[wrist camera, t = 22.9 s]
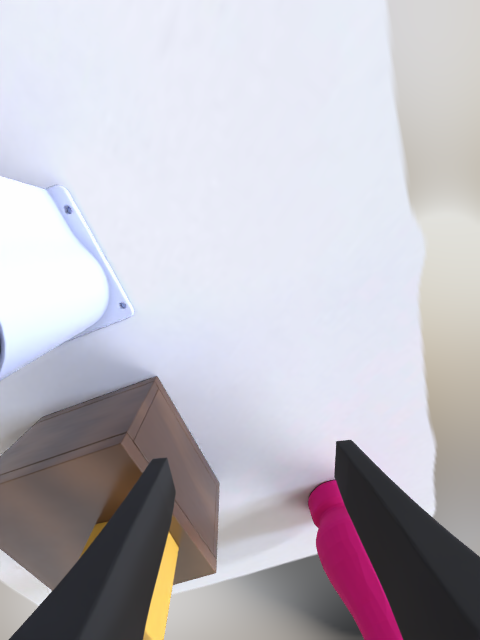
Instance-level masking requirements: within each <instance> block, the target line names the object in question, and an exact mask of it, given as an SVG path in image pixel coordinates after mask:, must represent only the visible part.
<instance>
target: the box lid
mask: <svg viewBox="0 0 480 640" xmlns="http://www.w3.org/2000/svg"><path fill="white" fill-rule="evenodd" d="M147 466H148V462H147V461H146V459H145V458H144V457H143V455H142V454H141V452H140V451H139V450H138V448H137V447H136V445H135V444H134V443H133V441H132V440H131V438H130V437H129V435H128V434H127V433H125V434H122V435H119V436H116V437H113V438H110V439H107V440H104V441H101V442H98V443H95V444H92V445H89V446H86V447H84V448H81V449H78V450H75V451H72V452H69V453H66V454H63V455H60V456H57V457H54V458H51V459H48V460H45V461H42V462H39V463H36V464H33V465H30V466H27V467H24V468H22V469H19V470H16V471H13V472H10V473H7V474H4V475H1V476H0V549H1V550H2V551H4V552H5V553H6V554H7V555H9V556H10V557H11V558H12V559H14V560H15V561H16V562H17V563H19V564H20V565H21V566H22V567H24V568H25V569H26V570H27V571H29V572H30V573H31V574H32V575H34V576H35V577H36V578H37V579H39V580H40V581H41V582H42V583H44V584H45V585H46V586H47V587H49V588H50V589H51V590H52V591H53V590H54V589H55V587H56V586H57V585H58V584H59V583H60V581H61V580H62V579H63V578H64V577H65V576H66V574H67V573H68V572H69V571H70V570H71V568H72V567H73V566H74V565H75V564H76V562H77V561H78V560H79V558H80V556H81V553H82V551H83V549H84V547H85V545H86V543H87V541H88V539H89V537H90V535H91V533H92V530H93V528H94V526H95V525H96V524H99V523H103V522H108V521H109V520H110V519H111V517H112V516H113V514H114V513H115V512H116V510H117V509H118V508H119V506H120V505H121V503H122V502H123V501H124V499H125V498H126V496H127V495H128V494H129V492H130V491H131V489H132V488H133V486H134V485H135V484H136V482H137V481H138V479H139V478H140V476H141V475H142V473H143V472H144V470H145V469H146V467H147ZM169 532H170V534H171V536H172V537H173V539H174V541H175V542H176V544H177V546H178V547H179V550H178V556H177V562H176V568H175V574H174V580H173V585H175V584H178V583H182V582H185V581H189V580H193V579H196V578H200V577H203V576H207V575H211V574H214V573H216V564H217V560H216V558H215V557H214V556H213V554H212V553H211V551H210V550H209V549H208V547H207V546H206V544H205V543H204V541H203V540H202V539H201V537H200V536H199V534H198V533H197V532H196V530H195V529H194V527H193V526H192V525H191V523H190V522H189V520H188V519H187V517H186V516H185V515H184V513H183V512H182V510H181V509H180V508H179V506H178V505H177V503H176V502H174V508H173V514H172V520H171V525H170V529H169Z"/></svg>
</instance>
